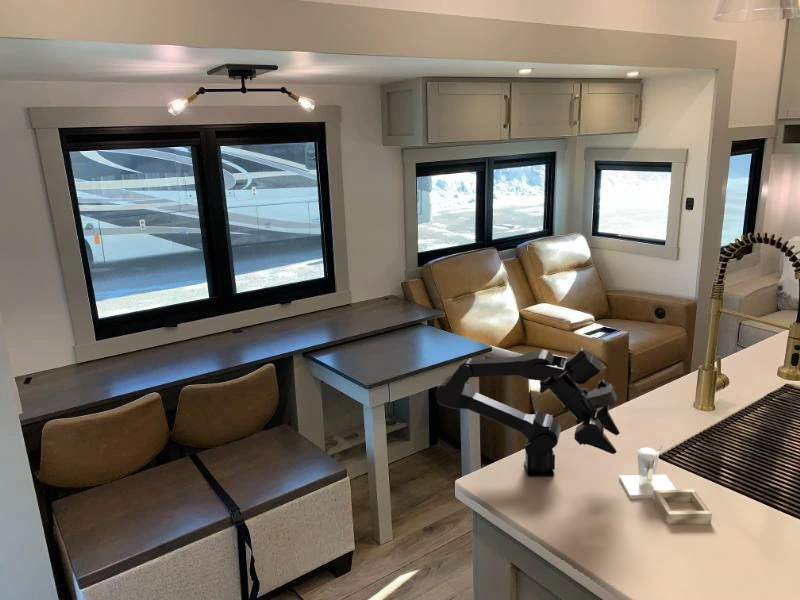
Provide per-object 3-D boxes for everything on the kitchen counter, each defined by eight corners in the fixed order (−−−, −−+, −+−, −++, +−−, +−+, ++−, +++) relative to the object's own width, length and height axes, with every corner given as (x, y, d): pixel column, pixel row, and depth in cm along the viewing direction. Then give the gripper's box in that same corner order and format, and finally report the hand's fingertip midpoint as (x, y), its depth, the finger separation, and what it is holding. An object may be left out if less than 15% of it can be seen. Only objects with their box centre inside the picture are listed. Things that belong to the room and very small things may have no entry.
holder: (668, 524, 131) (669, 514, 130) (652, 499, 139) (653, 490, 139) (710, 523, 130) (712, 513, 130) (692, 498, 139) (693, 489, 138)
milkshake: (663, 489, 141) (666, 451, 138) (639, 490, 141) (642, 452, 138) (655, 478, 145) (658, 441, 143) (632, 479, 146) (635, 442, 143)
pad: (630, 498, 140) (630, 494, 140) (619, 479, 148) (619, 475, 147) (678, 497, 139) (679, 493, 139) (665, 478, 147) (665, 474, 147)
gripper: (591, 391, 133) (642, 444, 132) (600, 360, 149) (645, 407, 148) (554, 418, 138) (602, 470, 137) (566, 386, 154) (609, 431, 153)
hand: (616, 443), depth 144 cm, fingers open, 9 cm apart
